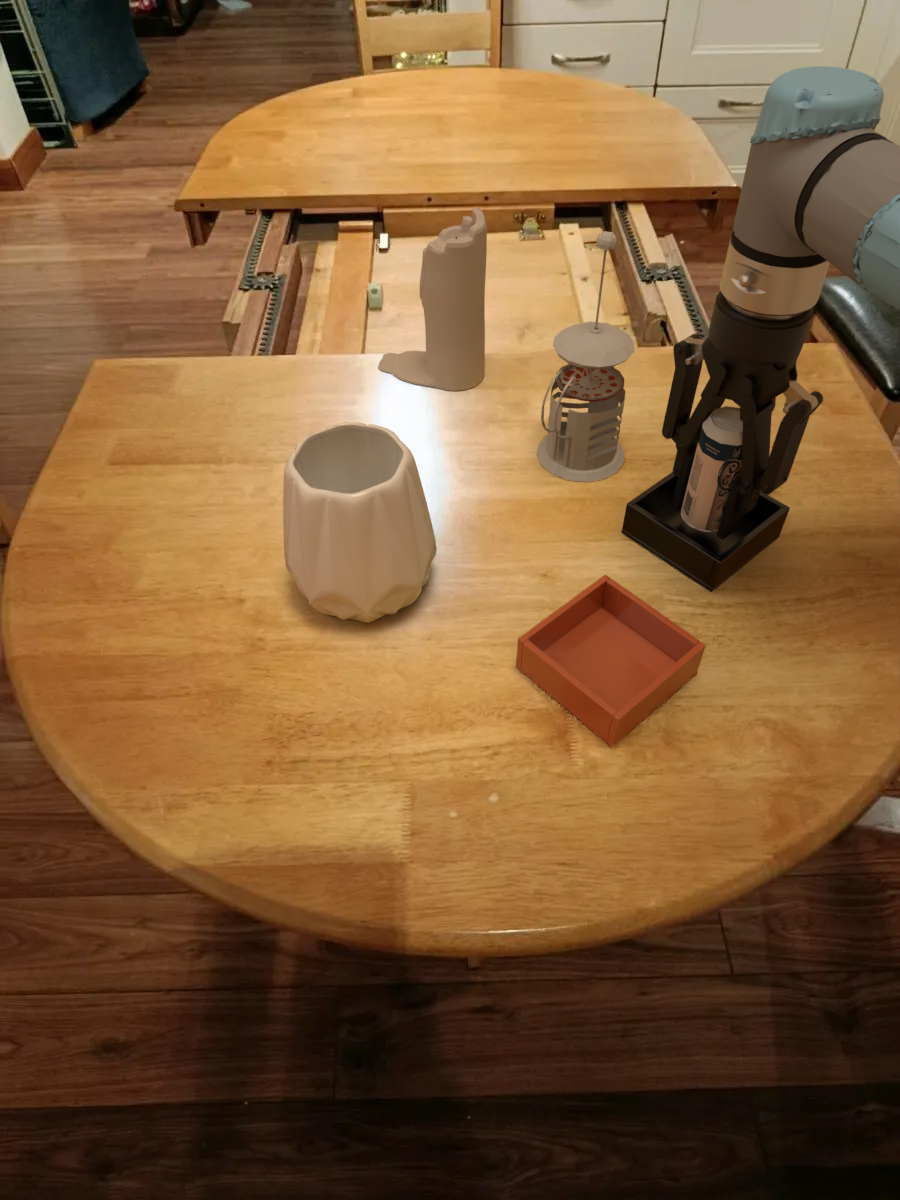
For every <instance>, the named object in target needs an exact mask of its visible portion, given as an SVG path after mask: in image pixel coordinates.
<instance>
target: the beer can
mask: <svg viewBox="0 0 900 1200" xmlns="http://www.w3.org/2000/svg"><path fill="white" fill-rule="evenodd" d="M742 436H743V421H741V420H740V407H736V406H728V405H726V406H721V408H717V409H715V410H714V411H713V412H712V413H711V414H710V416H709V417H708V418H707V419H706V420H705V421H704V422H703V424H702V429H701V433H700V437H699V441H698V445H697V449H696V453H695V457H694V461H693V465H692V469H691V473H690V477H689V481H688V485H687V489H686V493H685V497H684V501H683V505H682V509H681V516H682V518H683V520H684V521H685V523H686V524H688V525H689V526H690V527H692V528H694V529H696V530H699V531H703V532H716V531H718V529H719V526H720V523H721V519H722V516H723V513H724V509H725V506H726V503H727V499H728V496H729V492H730V489H731V486H732V484H733V483H734V482H736V481H737V480H738V479H740V478H741V466H742Z"/></svg>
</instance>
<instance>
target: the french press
mask: <svg viewBox="0 0 900 1200" xmlns="http://www.w3.org/2000/svg"><path fill="white" fill-rule="evenodd" d="M617 240H618V239H617V236H616V234H615V233H614V232H613V231H606V230H604V231H602V232H601V233H599V234H598V235H597V236H596V242H595V247H596V248H597V249H600V250H603V258H602V267H601V274H600V275H601V276H600V283H599V291H598V298H597V308H596V315H595V321H585V322H580V323H575V324H572V325H570V326H567V327H565V328H563V329H561V330H560V331H559V332H558V333H557V334H556V335H555V336H554V338H553V343H552V344H553V345H552V346H553V348H554V350H555V352H556V354H557V356H558V357H559V358H560V359H561V360H563V361H564V362H565V363H567V364H565V365H563V366H561V367H560V369H559V370H557V372H555V375H554V376H553V377H552V379H551V380H550V383H549V384H548V387H547V389H546V392H545V394H544V397H543V400H542V403H541V414H540V420H541V425H542V427H543V429H544V431H546V432H547V435H545V436H544V437H543V439H542V440H541V441H540V442H539V443H538V445H537V450H536V457H537V458H538V460H539V463H540V465H541V467H543V468H544V469H545V470H546V471H548V472H549V473H550V474H552V475H553V476H555V477H559V478H561V479H563V480H565V481H571V482H579V483H580V482H581V483H590V482H595V481H596V482H597V481H601V480H602V481H603V480H606V479H607V478H609V477H611V476H613V475H615V474H617V473H618V472H619V470H620V469H621V467H622V466H623V465H624V464H625V450H624V449H623V448H622V446H621V444H620V442H619V438H620V437H619V436H620V432H621V424H622V419H623V418H622V417H623V416H622V415H623V413H624V408H625V400H626V389H625V388H624V387H625V377H624V376H623V374H622V373H621V371H620V370H618V369H617V368H615V367H616V366H618V365H620V364H622V363H625V362H626V361H628V360H629V359H630V357H632V356H633V354H634V353H635V341H634V339H632V337H631V336H630V334H629V333H627V332H626V331H624V330H622V329H620V327H617V326H615V325H612V324H610V323H608V322H599V317H600V316H599V315H600V310H601V309H600V308H601V302H602V301H601V300H602V292H603V283H604V277H605V268H606V259H607V251H610V250H613V249H615V248H616V247H617ZM556 389H559V391H557V392H555V393H554V391H555V390H556ZM550 391H551V392H550ZM549 392H550V399H549V401H550V402H549V414H548V425H547V427H546V424H545V404H546V400H547V398H548V395H549ZM553 393H554V394H553ZM563 398H564V399H570V400H571V399H572V400H578V401H582V402H581V403H579V402H578V403H577V402H566V401H565V402H564V401H562V399H563ZM556 399H558V400H556ZM563 409H568V411H563ZM572 409H578V410H579V409H587V411H585V412H579V411H575V410H572ZM618 417H619V418H618ZM562 418H565V419H566V418H567V419H566V421H563V420H562ZM617 427H618V429H617Z"/></svg>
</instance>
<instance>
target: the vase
mask: <svg viewBox="0 0 900 1200" xmlns="http://www.w3.org/2000/svg"><path fill="white" fill-rule="evenodd" d="M288 457H289V458H288V459H287V460H286V464H285V466H284V469H283V470H284V471H283V483H282V485H283V486H282V487H283V488H282V491H283V492H282V518H283V519H282V522H283V524H282V525H283V529H282V530H283V554H284V555H283V556H284V562H285V568H286V570H287V572H288V573H289V574H290V575H291V576H292V578H293V580H294V582H295V584H296V586H297V588H298V590H299V592H300V594H301V596H302V597H303V598H305V599H307V600H308V604H309V605H310V606H311V607H312V608H313V609H314V610H315V611H316V612H318V613H319V614H321V615H326V616H331V617H337V618H338V619H340V620H344V621H345V620H349V619H351V620H354V621H359V622H362V623H372V622H374V621H376V620H378V619H381V618H382V617H385V616H387V615H395V614H396V613H397V612H398V611H399V610H400V609H403V608H405V607H408V606H410V605H412V604H414V603H415V602H416V600H417V599H418V597H419V596H420V595H421V592H422V586H425V585H426V584H427V583H428V581H429V577H430V573H431V570H432V565H433V561H434V559H435V557H436V555H437V550H438V549H437V544H436V543H437V542H436V536H435V531H434V527H433V523H432V519H431V515H430V510H429V506H428V502H427V499H426V495H425V491H424V487H423V484H422V480H421V477H420V473H419V470H418V466H417V463H416V459H415V457H414V455H413V453H412V451H411V450H410V448H409V447H408V446H407V444H405V443H404V442H403V441H402V440H401V439H400V438H399V436H398V435H397V434H396V433H395V432H394V431H393V430H391V429H389V428H387V427H384V426H382V425H377V424H372V423H369V424H365V423H364V422H359V421H357V422H356V421H344V422H339V423H335V424H330V425H327V426H326V427H324V428H320V429H317V430H314V431H313V432H310V433H309V434H308V435H306V436H305V437H303V438H302V439H301V440H300V441H299V442H297V444H295V447H294V450H293V451H292V452H291V453H290V456H288Z"/></svg>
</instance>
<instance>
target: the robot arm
mask: <svg viewBox="0 0 900 1200" xmlns="http://www.w3.org/2000/svg"><path fill="white" fill-rule="evenodd" d="M884 97H885V93H884V90H883V88H882V86H881V85H880V82H878V80H877V79H876V78H875V77H873V76H871V75H870V74H868V73H865V72H861V71H857V70H855V69H850V68H845V67H839V66H838V67H837V66H821V65H820V66H806V67H799V68H795V69H790V70H788V71H786V72H784V73H781V74H779V76H777V77H776V78H775V79H774V80H773V81H772V82H771V84H769V86H768V88H767V90H766V93H765V95H764V98H763V102H762V105H761V109H760V112H759V116H758V118H757V122H756V126H755V129H754V133H753V135H751V138H750V141H749V142H750V147H749V153H748V158H747V162H746V166H745V171H744V175H743V180H742V184H741V189H740V194H739V198H738V203H737V206H736V207H737V208H736V211H735V217H734V221H733V225H732V231H731V236H730V238H729V242H728V247H727V252H726V256H725V260H724V265H723V269H722V273H721V278H720V282H719V290H720V291H719V292H718V293H717V295H716V297H715V301H714V305H713V309H712V315H711V318H710V321H709V322H710V323H709V327H708V336H707V337H706V339H703V338H701V335H699V334H698V333H692V334H691V335H688V336H687V337H685V338H684V339H682V340H680V341H678V342H677V343H676V344H674V345H673V349H672V350H673V360H674V371H673V377H672V382H671V386H670V391H669V396H668V400H667V406H666V409H665V414H664V417H663V418H664V419H663V423H662V428H661V434H662V437H663V438H665V439H666V440H670V439H671V440H672V442H673V443H674V444H675V449H676V454H675V458H674V462H673V467H672V472H673V474H674V475H675V476H677V477H678V481H677V485H676V489H675V494H674V498H673V502H672V506H671V508H672V509H674V510H675V511H679V510H680V509H681V508H682V505H683V501H684V497H685V493H686V489H687V485H688V481H689V477H690V473H691V469H692V465H693V461H694V457H695V453H696V449H697V445H698V441H699V437H700V433H701V429H702V424H703V422H704V421H705V420H706V419H707V418H708V417H709V416H710V414H711V413H712V412H713V411H714V410H715V409H717V408H721V407H723V405H724V403H725V401H726V400H729V401H732V402H733V403H735V405H737V406H738V407H739V408H740V420H741V421H743V436H742V466H741V478H740V479H738V480H737V481H736V482H734V483H733V484H732V486H731V489H730V492H729V496H728V499H727V503H726V506H725V509H724V513H723V516H722V519H721V523H720V526H719V529H718V533H717V537H719V538H721V539H722V540H723V539H725V538H726V537H727V536H729V535H730V534H731V533H732V532H734V531H735V530H736V529H738V528H739V527H740V524H741V521H742V518H743V515H745V514H747V513H748V512H749V511H750V510H752V509H753V508H754V507H755V506H756V504H757V501H758V498H759V495H760V492H762V493H764V494H766V495H769V496H770V495H771V494H772V493H773V492H775V491H776V490H777V489H779V488H780V487H781V486H782V485H784V484H785V483H786V482H787V481H788V479H789V476H790V473H791V471H792V468H793V464H794V462H795V459H796V457H797V454H798V451H799V448H800V445H801V442H802V439H803V436H804V434H805V431H806V428H807V426H808V423H809V421H810V420H809V419H810V417H811V415H813V414H814V412H815V411H816V410H817V409H818V408H819V407H820V406H821V405H822V403H823V402H824V396H823V394H822V393H821V392H820V391H818V390H814V391H812V392H809V391H807V389H806V388H805V387H803V385H801V383H799V382H798V381H797V380H798V369H797V362H798V358H799V356H800V354H801V352H802V349H803V347H804V344H805V340H806V338H807V334H808V331H809V329H810V325H811V324H812V319H813V317H814V313H815V310H814V309H815V308H814V306H816V304H817V303H818V301H819V299H820V297H821V293H822V289H823V286H824V284H825V280H826V276H827V274H828V270H829V267H830V265H832V266H833V267H835V268H836V269H837V270H838V271H839V272H841V273H842V274H844V275H845V276H847V277H848V278H849V279H850V280H851V281H853V282H854V283H856V284H857V285H858V286H860V288H861V289H862V290H864V291H865V293H866V294H867V295H868V296H871V297H873V298H874V299H876V300H877V301H883V302H884V304H886V305H890V306H892V307H893V308H894V309H896V310H899V311H900V145H899V144H897V143H896V142H894V141H892V140H890V139H888V138H887V137H886V136H884V135H882V134H880V133H879V132H877V131H875V130H876V128H877V126H878V125H879V123H880V122H881V120H882V118H881V110H882V106H883V102H884ZM703 363H705V367H706V369H707V373H708V375H709V379H708V380H707V382H706V384H705V386H704V388H703V390H702V392H701V393H700V397H701V398H700V399H699V401H698V403H697V404H696V407H695V408H694V410H693V412H692V409H693V407H694V402H695V398H696V392H697V388H698V384H699V380H700V377H701V372H702V367H703ZM782 394H783V395H784V397H785V402H784V406H783V408H782V413H783V414H785V415H784V416H783V417H782V419H781V421H780V423H779V426H778V428H777V432H776V435H775V438H774V441H773V444H772V447H771V433H772V416H773V415H772V414H773V412H774V410H775V408H776V401H777V397H779V396H780V395H782ZM770 450H771V451H770Z"/></svg>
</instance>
